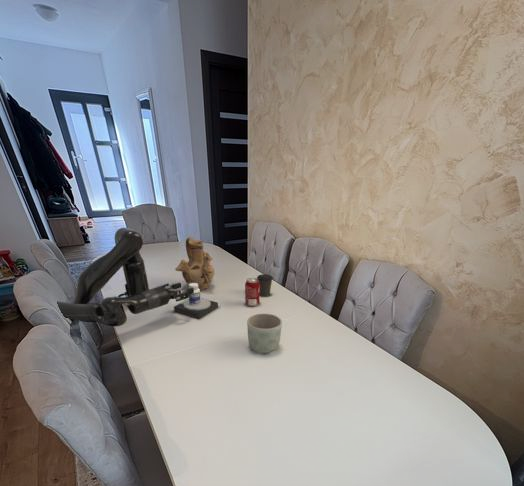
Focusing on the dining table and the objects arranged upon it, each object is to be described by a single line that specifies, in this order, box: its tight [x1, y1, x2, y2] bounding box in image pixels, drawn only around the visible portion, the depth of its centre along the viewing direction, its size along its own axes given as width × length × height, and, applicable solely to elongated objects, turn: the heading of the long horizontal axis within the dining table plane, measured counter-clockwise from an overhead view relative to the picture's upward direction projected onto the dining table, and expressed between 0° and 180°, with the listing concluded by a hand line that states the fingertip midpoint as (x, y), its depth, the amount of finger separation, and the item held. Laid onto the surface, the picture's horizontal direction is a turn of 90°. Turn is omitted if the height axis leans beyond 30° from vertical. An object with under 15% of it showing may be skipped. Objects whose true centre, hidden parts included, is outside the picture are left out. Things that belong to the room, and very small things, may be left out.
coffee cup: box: [256, 273, 274, 297], centre depth 155 cm, size 8×8×10 cm
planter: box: [246, 312, 283, 354], centre depth 112 cm, size 12×12×11 cm
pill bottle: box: [188, 283, 202, 305], centre depth 136 cm, size 5×5×9 cm
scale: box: [173, 297, 219, 320], centre depth 140 cm, size 14×14×3 cm
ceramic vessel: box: [174, 236, 215, 291], centre depth 157 cm, size 18×19×25 cm
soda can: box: [244, 277, 261, 307], centre depth 144 cm, size 7×7×12 cm
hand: (186, 287), depth 132 cm, fingers open, 8 cm apart
